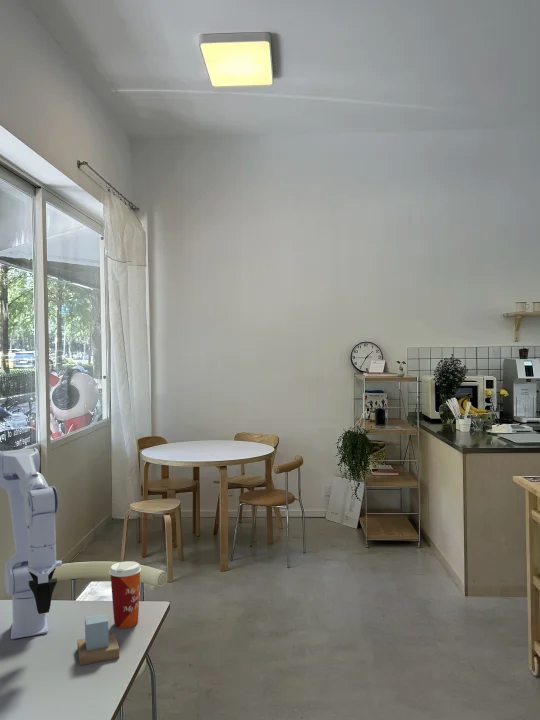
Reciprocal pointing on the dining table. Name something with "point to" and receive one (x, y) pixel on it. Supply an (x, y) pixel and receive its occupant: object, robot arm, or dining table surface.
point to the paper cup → (125, 593)
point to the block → (96, 631)
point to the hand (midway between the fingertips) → (43, 606)
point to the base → (98, 651)
